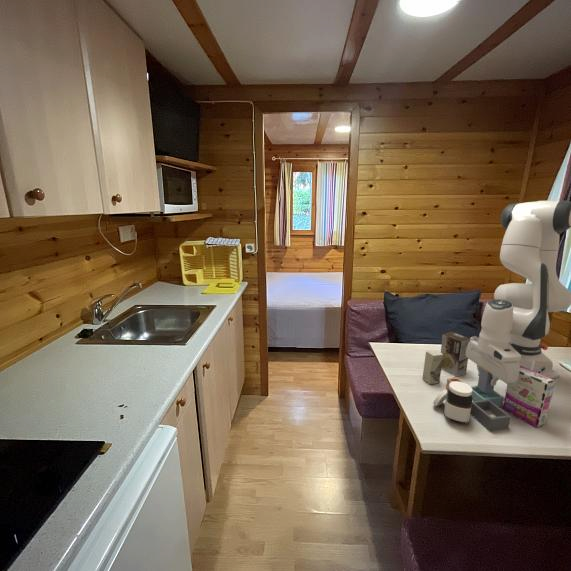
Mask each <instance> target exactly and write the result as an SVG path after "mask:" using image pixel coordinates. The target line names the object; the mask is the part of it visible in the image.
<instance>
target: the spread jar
mask: <svg viewBox="0 0 571 571" xmlns="http://www.w3.org/2000/svg"><path fill="white" fill-rule="evenodd" d="M463 382H464V381H463ZM463 382H458V381H453V382H451V383H450V384H449V388H448V390H446V389H444V390H442V391H441V392H440V393H439V394H438V395H437V396H436V398H435V399H434V400H433V402H432V403H433V405H434V406H435V407H439V406H440V405H442V404H443V403H444V408H443V409H444V412H443V414H444V417H445V418H446V419H448V420H449V421H452V422H453V423H456V424H468V422H469V421H470V418H471V414H470V412H471V406H472V402H473V400H472V388H471V387H472V386H471V385H469V384H468V383H465V382H464V383H463Z"/></svg>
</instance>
